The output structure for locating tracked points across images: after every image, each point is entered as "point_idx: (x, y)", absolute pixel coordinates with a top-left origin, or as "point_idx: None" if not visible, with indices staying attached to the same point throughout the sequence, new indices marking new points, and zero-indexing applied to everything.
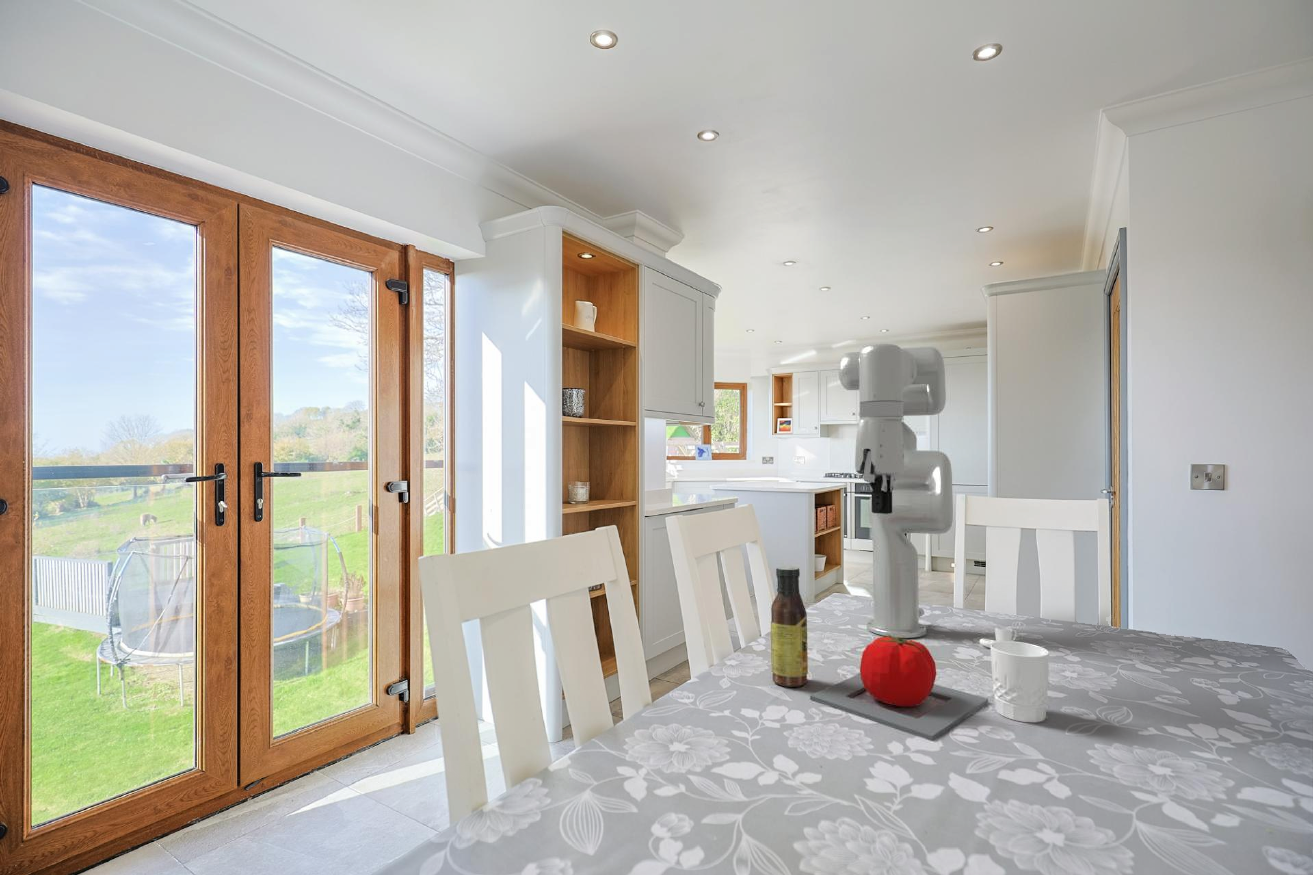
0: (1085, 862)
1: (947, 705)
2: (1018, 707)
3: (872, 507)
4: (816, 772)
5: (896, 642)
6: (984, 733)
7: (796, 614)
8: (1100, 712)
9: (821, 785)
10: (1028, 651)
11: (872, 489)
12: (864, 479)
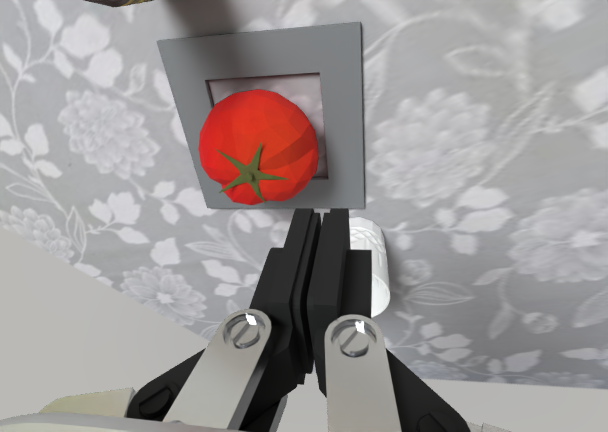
0: (159, 312)
1: None
2: None
3: (292, 227)
4: (59, 168)
5: (239, 174)
6: (272, 230)
7: (89, 1)
8: (432, 285)
9: (53, 183)
10: (386, 290)
11: (228, 333)
12: (49, 410)
